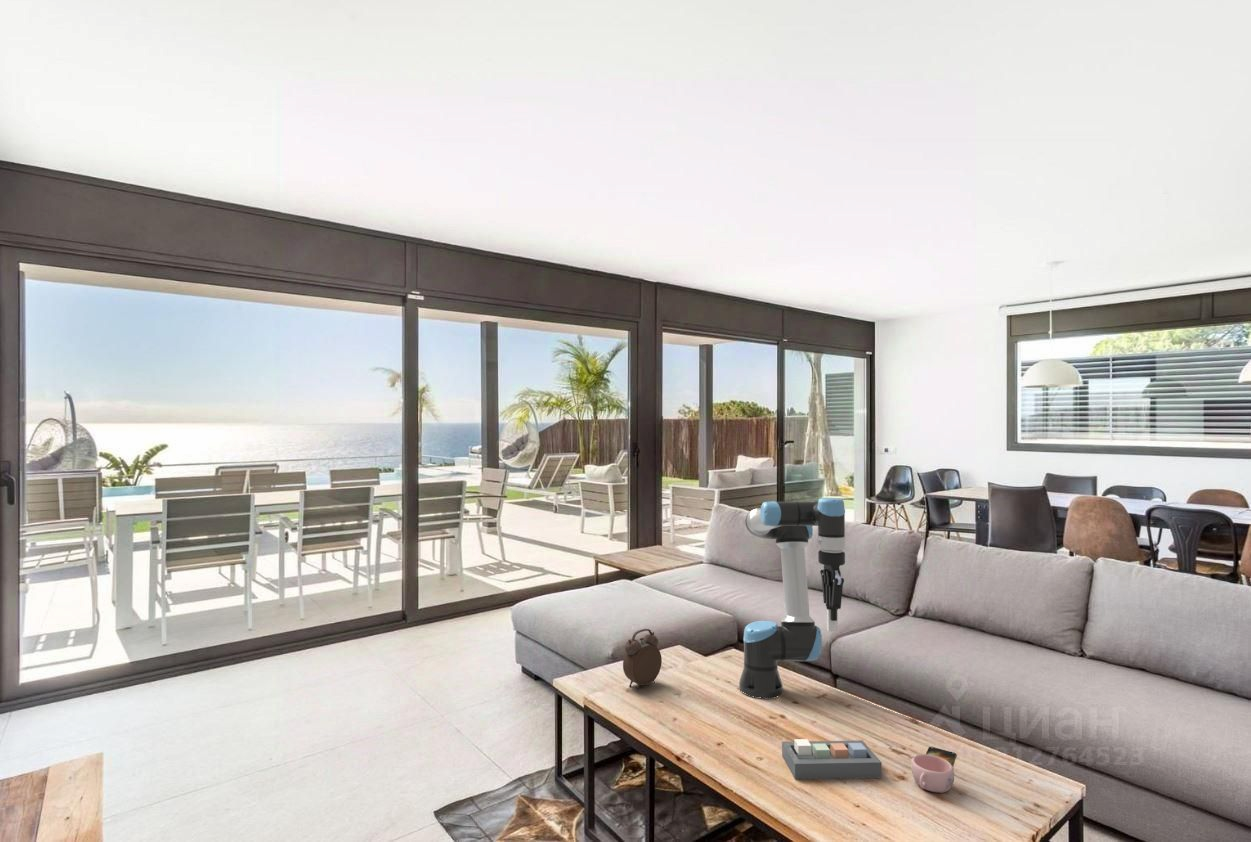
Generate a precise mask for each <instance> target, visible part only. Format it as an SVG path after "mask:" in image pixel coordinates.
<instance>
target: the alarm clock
mask: <svg viewBox="0 0 1251 842" xmlns="http://www.w3.org/2000/svg"><path fill="white" fill-rule="evenodd" d="M642 632H648V633H647V634H645V635H644V636H643V637H641V638H639V641H638V639H636V636H637V635H638V634H640V633H642ZM627 640H628V641H626V642H625V644H624V651H625V655H624V656H623V660H622V669H623V673H624V675H625V677H626V678H627V679H628V680H630V683H629V685H628V687H629V688H631V687H632V685H633V683H635V684H637V687H636V689H637V690H638V689H639V688H640V685H641V686H647V685H648V686H649V684H652V683H654V684H656V681H655V680H656V678H657V677H658V675H659V674H660V673H661V672H660V671H661V668H662V653H661V651H660V650H659V648H658V645H659V639H658V637H657V636H656V635H655V632H654V631H652V630H651V629H649V628H642V629H639V630H636V631H635V632H634V633H633V635H632V638H631V639H627Z"/></svg>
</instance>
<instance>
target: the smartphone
mask: <svg viewBox="0 0 1251 842" xmlns="http://www.w3.org/2000/svg"><path fill="white" fill-rule="evenodd" d="M925 754H927V755H933V756H937V757H940V758H942V759H944V760H946V761H948V762H949V763H950V764H951V765H952V767H953V765H954V762H955V760H956V756H957V753H956V752H953V751H950V750H945V749H942V748H938V747H934V746H928V748H927V750H926V753H925Z"/></svg>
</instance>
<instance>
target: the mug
mask: <svg viewBox="0 0 1251 842" xmlns="http://www.w3.org/2000/svg"><path fill="white" fill-rule="evenodd" d="M910 770H911V774H912V778H913V779H914V781H915V783H916V784H917V785H918V786H919V787H920V788H922V789H923V790H925V791H929V792H932V793H946V792H949V790H950V789H951V788H952V786H953V784H954V782H955V770H954V767H953V766H952V765H951V764H950V763H949V762H948V761H946V760H944V759H942V758H940V757H937V756H933V755H927V754H926V753H924V754H916V755H914V756H913V757H912V758H911V763H910Z"/></svg>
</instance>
